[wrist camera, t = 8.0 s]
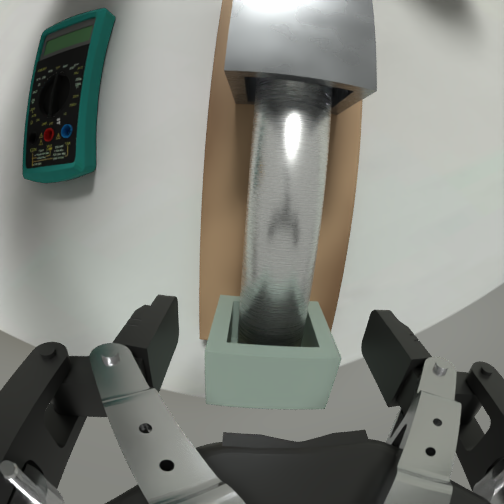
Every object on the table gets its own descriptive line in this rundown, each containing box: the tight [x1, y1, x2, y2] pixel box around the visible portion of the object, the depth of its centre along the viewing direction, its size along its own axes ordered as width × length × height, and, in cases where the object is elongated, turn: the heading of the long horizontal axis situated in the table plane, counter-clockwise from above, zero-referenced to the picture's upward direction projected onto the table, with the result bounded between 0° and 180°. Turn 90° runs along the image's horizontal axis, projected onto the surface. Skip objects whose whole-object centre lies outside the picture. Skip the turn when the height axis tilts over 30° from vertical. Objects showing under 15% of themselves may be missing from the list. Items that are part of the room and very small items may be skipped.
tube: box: [237, 77, 332, 347], centre depth 15 cm, size 4×19×4 cm, turn 175°
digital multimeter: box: [23, 8, 115, 183], centre depth 16 cm, size 7×15×3 cm, turn 177°
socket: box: [205, 295, 341, 409], centre depth 17 cm, size 7×4×7 cm, turn 86°
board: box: [199, 0, 362, 340], centre depth 18 cm, size 10×26×2 cm, turn 176°
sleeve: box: [224, 0, 377, 115], centre depth 12 cm, size 7×9×7 cm
